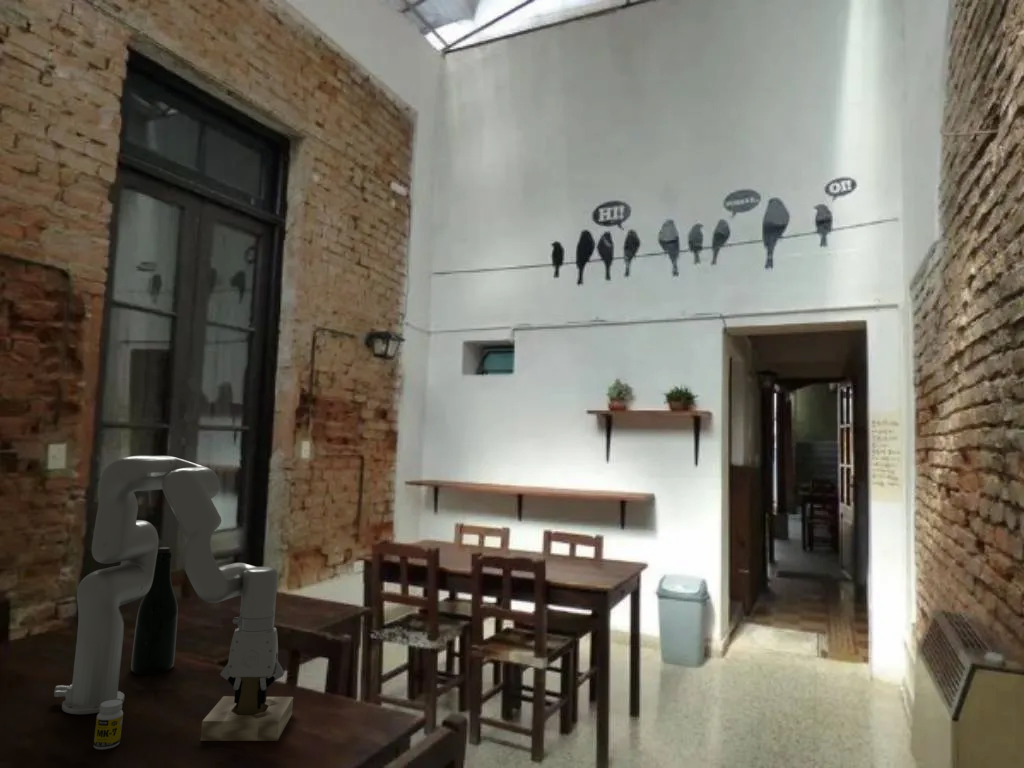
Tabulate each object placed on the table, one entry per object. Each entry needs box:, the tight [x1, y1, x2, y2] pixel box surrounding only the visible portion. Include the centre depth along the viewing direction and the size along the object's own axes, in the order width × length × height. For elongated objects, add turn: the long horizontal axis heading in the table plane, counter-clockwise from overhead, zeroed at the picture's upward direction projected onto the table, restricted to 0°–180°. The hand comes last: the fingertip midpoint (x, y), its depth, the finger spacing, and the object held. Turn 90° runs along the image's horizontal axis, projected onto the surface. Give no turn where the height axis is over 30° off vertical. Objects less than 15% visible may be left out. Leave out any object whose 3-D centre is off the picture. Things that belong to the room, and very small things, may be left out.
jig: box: [199, 695, 294, 742], centre depth 148 cm, size 16×14×4 cm
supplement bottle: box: [93, 700, 124, 751], centre depth 137 cm, size 5×5×8 cm
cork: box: [235, 677, 263, 715], centre depth 149 cm, size 6×6×11 cm
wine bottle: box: [130, 546, 179, 676], centre depth 183 cm, size 10×10×33 cm
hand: (249, 705), depth 149 cm, fingers closed on cork, 3 cm apart
